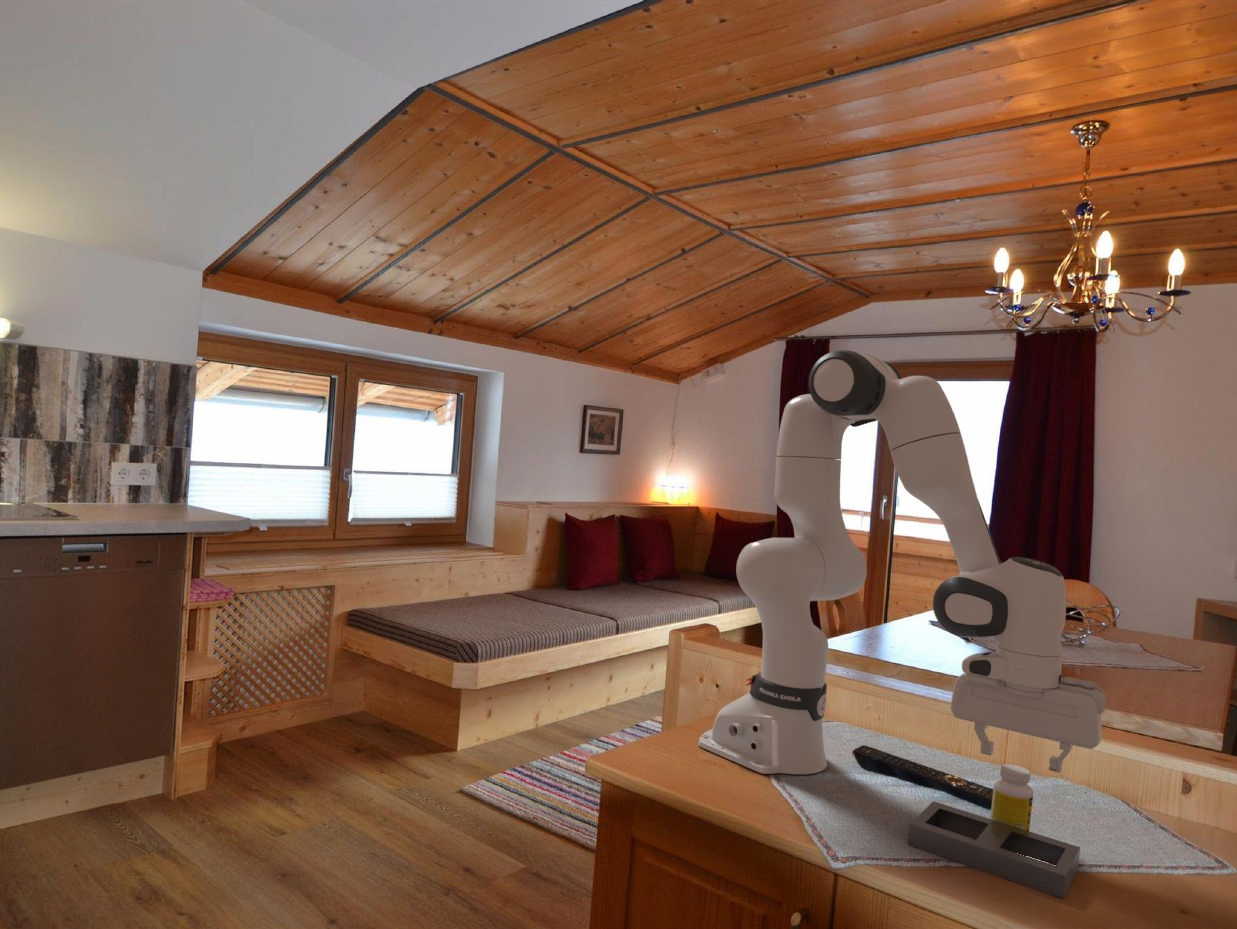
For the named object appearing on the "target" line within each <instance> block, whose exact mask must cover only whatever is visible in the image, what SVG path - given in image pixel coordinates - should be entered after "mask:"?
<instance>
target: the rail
mask: <svg viewBox="0 0 1237 929" xmlns="http://www.w3.org/2000/svg"><path fill="white" fill-rule="evenodd" d="M907 836H908V838H907V846H910V847H914V848H917V849H920V850H922V851H925V852H927V853H930V852H931V853H930V854H933V853H934V855H937V856H939V857H942V856H943V857H942V858H945V859H947V858H948V860H950V859H951V861H954V862H957V863H959V864H962V865H965V866H968V867H970V868H974V869H977V870H979V871H982V872H985V873H987V874H990V875H994V876H996V877H998V878H999V877H1000V878H1002V879H1005V880H1008V881H1011V882H1013V883H1017V884H1019V885H1022V886H1025V887H1028V888H1030V889H1034V890H1037V891H1039V892H1042V893H1045V894H1047V895H1051V896H1054V897H1056V898H1059V899H1062V900H1064V899H1065V897H1066V895H1067V892H1068V890H1069V888H1070V886H1071V885H1072V882H1073V880H1074V878H1075V877H1076V873H1077V872H1078V870H1079V863H1080V855H1081V847H1080V846H1077V845H1073V844H1070V843H1067V842H1064V841H1061V840H1058V839H1055V838H1052V837H1048V836H1045V835H1042V834H1039V833H1035V832H1033V831H1030V830H1029V831H1027V830H1023V829H1020V828H1017V827H1014V826H1011V825H1008V824H1004V823H1001V822H998V821H995V820H992V819H990V818H988V817H985V816H983V815H979V814H976V813H972V812H969V811H966V810H964V809H963V810H962V809H959V808H956V807H954V806H950V805H946V804H943V803H940V802H937V801H934V800H933V801H932V802H931V803H930V804H929V805H927V807H926V808H924V809H923V810H922V811H921V812H920V813H919V814H918V815H917V816H916V817H915V818H914V819H913V820H911V822H910V823H909V827H908V835H907ZM1017 853H1018V854H1017ZM1020 854H1021V855H1020ZM1023 855H1024V856H1023ZM1026 856H1029V857H1032V858H1035V859H1039V860H1041V861H1045V862H1048V863H1050V864H1053V865H1056V866H1053V865H1050V864H1047V863H1044V862H1041V861H1038V860H1035V859H1032V858H1029V857H1026Z"/></svg>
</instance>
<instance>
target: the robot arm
mask: <svg viewBox="0 0 1237 929" xmlns="http://www.w3.org/2000/svg"><path fill="white" fill-rule="evenodd" d="M808 391H809V393H807V394H806V393H805V394H801V395H798V396H796V397H793V398H792V399H789V401H788V402H787V403H786V405H785V407H784V409H783V413H782V416H781V422H780V426H779V431H778V435H777V436H778V438H777V445H776V456H775V457H776V459H775V472H774V473H775V474H774V477H775V478H774V479H775V480H774V495H773V496H774V500H775V503H776V504H777V507H779V508H780V510H782V511H783V512H784V513H786V514H787V515H788V517H789V520H790V521H791V524H792V527H793V528H792V529H793V534H794V537H769V538H764V539H760V540H757V541H754V542H750V543H748V544H746V545H745V546H744V547H743V548H742V549H741V552H740V553H739V555H738V557H737V561H736V567H735V569H736V571H735V572H736V573H735V574H736V578H737V582H738V584H739V586H740V588H741V590H742V592H743V593H744V594H745V595H746V596H747V597H748V598H750V600H751V601H752V602H753V604H754V605H755V608H756V610H757V612H758V615H759V618H760V623H761V628H762V647H761V648H762V649H761V650H762V652H761V666H760V667H761V668H760V670H759V671H758V673H757V674H753V675H751V677H750V678H747V679H746V681H747V682H746V683H745V686H750V689H749V692H747V693H746V694H744V695H742V696H740V697H738V698H736V699H735V700H733V701H731V702H730V703H728V704H726V705H725V706H724V707H722V708H721V709H720V710H719V711H718V713H717V715H716V716H715V719H714V723H713V727H712V728H711V729H709V730H707V731H705V732H703V733H702V734H701V735H700V737H699V740H698V746H699V747H700V748H702V749H704V750H707V751H710V752H711V753H714V754H716V755H718V756H720V757H723V758H725V759H726V760H727V759H728V760H730V761H732V762H734V763H736V764H738V765H741V766H743V767H745V768H748V769H751V770H753V771H755V772H757V773H760V774H767V775H771V774H789V775H810V774H818V773H820V772H822V771H824V770H825V769H826V768H827V767H828V762H827V759H826V752H825V744H824V743H825V742H824V727H823V726H824V725H823V722H824V721H823V719H824V717H825V713H826V709H827V708H826V707H827V697H828V696H827V690H828V688H827V687H828V685H827V683H826V675H827V674H826V673H827V665H828V664H827V662H828V652H829V651H828V650H829V642H828V638H827V635H825V633H824V632H823V630H821V629H820V628H819V627H818V626H816V625H815V624H814V622H813V620H812V619H813V618H812V617H811V616H812V615H811V607H810V604H811V602H818V601H835V600H838V599H842V598H845V597H848V596H852V595H854V594H856V593H858V592H859V591H860V590H861V589H862V587H864V586H863V585H864V583H865V582H866V579H867V574H868V573H867V572H868V567H867V561H866V558H865V555H864V553H863V552H862V550H861V549H860V548H859V547H858V546H857V545H856V544H855V543H854V542H853V540H852V538H851V537H850V535H849V532H848V531H847V530H848V529H847V528H846V527H847V526H846V525H845V522H844V517H843V513H842V512H843V511H842V507H841V471H842V466H841V465H842V447H843V446H842V445H843V438H844V434H845V433H846V430H847V429H848V428H849V427H850V426H851V427H853V428H857V427H859V426H860V427H861V426H863V425H866V424H870V423H873V422H878V423H879V424H880V425H881V426H882V428H883V431H884V433H885V436H886V440H887V443H888V448H889V451H890V455H891V460H892V462H893V466H894V468H895V471H896V474H897V476H898V478H899V480H900V482H901V484H902V486H903V487H904V489H905V491H906V492H907V493H909V494H910V495H911V496H913V498H916V499H917V500H918V501H920V502H921V503H923V504H924V505H925V506H926V507H928V508H930V510H931V511H932V512H934V514H936V516H937V517H938V518H939V519H940V521H941V522H942V524H943V526H944V528H945V531H946V534H947V537H948V540H949V543H950V546H951V549H952V551H953V554H954V557H955V560H956V564H957V567H958V571H959V574H958V575H953V576H951V577H950V578H948V579H946V580H944V581H942V582H941V583H940V584H939V586H938V587H937V588H936V590H935V592H934V594H933V599H932V609H933V613H934V616H935V618H936V620H937V622H938V623H939V625H940V626H941V627H942V628H943V629H944V630H945V631H947V632H949V633H950V634H952V635H955V636H958V637H961V638H962V637H963V638H969V639H971V638H985V637H986V638H987V637H991V638H994V639H996V649H995V651H986V652H978V653H974V654H970V655H968V656H966V657H965V658H964V659H963V660H962V661H961V670H962V672H963V673H962V674H960V675H959V676H958V677H957V679H956V681H955V683H954V687H953V690H952V697H951V703H950V712H951V713H952V715H953V717H955V719H958V720H962V721H963V720H964V721H967V722H972V723H974V732H975V733H976V735H977V738H978V740H979V742H980V754H983V755H987V756H991V757H992V755H993V754H994V750H995V749H994V747H995V746H994V745H995V741H992V740H989V738H988V736H987V733H986V731H985V730H987V729H988V726H990V727H993V728H997V729H1002V730H1006V731H1010V732H1014V733H1018V734H1023V735H1027V736H1031V737H1035V738H1040V739H1045V740H1050V741H1054V742H1058V743H1059V747H1058V748H1059V750H1060V751H1061V750H1062V752H1061V753H1060V754H1059V756H1054V755H1052V756H1051V757H1050V758H1049V763H1048V764H1049V766H1048V770H1049V771H1050V772H1055V773H1059V774H1061V773H1062V770H1063V764H1064V763H1063V762H1064V760H1065V758H1066V757H1067V756H1068V755H1069V754H1070V752H1071V751H1072V750H1073V746H1075V747H1080V748H1085V749H1088V750H1089V749H1090V750H1093V749H1095V748H1096V747H1098V745H1100V744H1101V742H1102V734H1103V733H1102V732H1103V731H1102V730H1103V727H1102V724H1103V723H1102V714H1103V713H1104V712H1105V711H1106V707H1107V694H1106V692H1105V690H1104V689H1103V688H1101V687H1100V686H1098V685H1096V682H1095V681H1091V680H1086V679H1085V680H1082V679H1079V678H1075V677H1072V676H1070V677H1069V676H1066V675H1065V676H1064V675H1062V668H1063V667H1062V666H1063V654H1064V653H1063V647H1062V640H1061V639H1062V634H1063V630H1064V628H1065V625H1066V617H1067V616H1066V612H1067V592H1066V582H1065V578H1064V576H1063V574H1062V572H1060V570H1059V569H1058V568H1057V567H1055V566H1053V565H1052V564H1049V563H1047V562H1044V561H1040V560H1037V559H1033V558H1027V557H1023V556H1022V557H1021V556H1015V557H1014V556H1013V557H1010V558H1008V559H1007V560H1006V561H1004V562H1002V561H1001V559H1000V557H999V555H998V551H997V549H996V546H995V543H994V541H993V537H992V534H991V532H990V529H989V526H988V523H987V520H986V518H985V515H984V512H983V510H982V505H981V504H980V501H979V498H978V494H977V492H976V486H975V484H974V480H973V477H972V471H971V467H970V464H969V458H968V455H967V452H966V446H965V444H964V439H963V435H962V433H961V430H960V427H959V423H958V420H957V418H956V415H955V413H954V412H955V411H954V410H953V408H952V405H951V403H950V401H949V399H948V397H947V395H946V393H945V392H944V390H943V387H942V386H941V384H940V383H939V382H938V381H937V380H936V379H934V378H932V377H930V376H926V375H910V376H909V375H908V376H906V377H902V375H901V374H900V373H899V371H898V370H897V369H896V368H895V367H894V366H893V365H892V364H890V363H889V362H887V361H884V360H882V359H880V358H878V357H876V356H874V355H871V354H868V353H859V352H857V351H854V350H849V349H844V350H843V349H841V350H834V351H831V352H828V353H826V354H824V355H823V356H821V357H820V358H819V359H818V360H817V361H816V362H815V363H814V365H812V368H811V370H810V373H809V376H808Z"/></svg>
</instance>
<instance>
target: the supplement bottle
mask: <svg viewBox="0 0 1237 929" xmlns="http://www.w3.org/2000/svg"><path fill="white" fill-rule="evenodd" d="M999 775H1000V778H998V779H996V780H995V781H994V784H993V789H992V798H991V808H990V815H989V816H990V817H989V819H992V820H995V821H998V822H1001V823H1004V824H1008V825H1011V826H1014V827H1017V828H1020V829H1023V830H1027V831H1030V826H1031V816H1032V809H1033V802H1034V800H1033V798H1034V790H1033V787H1031V785H1029V783H1030V781H1031V772H1030V770H1028V769H1027V768H1025V767H1022V766H1020V765H1017V764H1009V763H1008V764H1007V763H1006V764H1002V765H1001V766H1000V774H999Z"/></svg>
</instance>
